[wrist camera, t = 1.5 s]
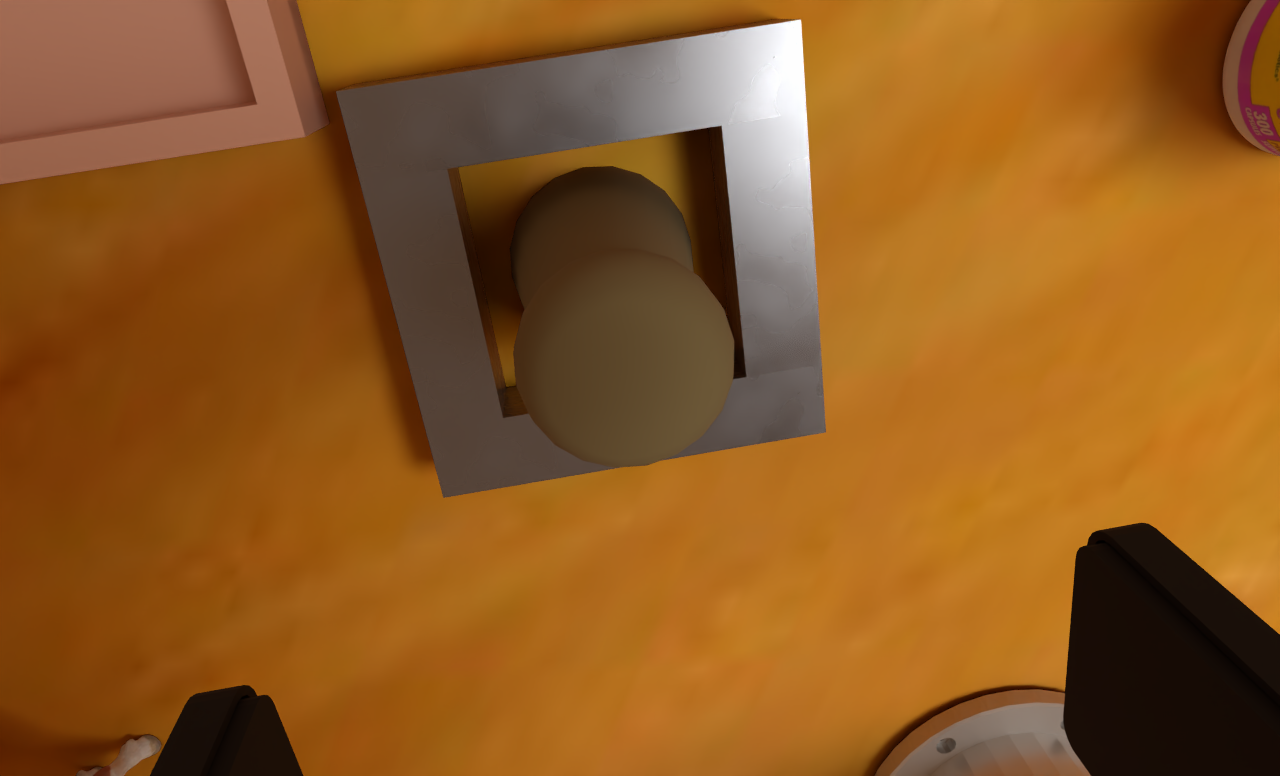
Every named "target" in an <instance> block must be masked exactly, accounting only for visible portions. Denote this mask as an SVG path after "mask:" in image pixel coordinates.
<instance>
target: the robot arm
mask: <svg viewBox="0 0 1280 776" xmlns="http://www.w3.org/2000/svg"><path fill="white" fill-rule="evenodd" d="M150 776H303V774H302V771H301V769H300V766H299V764H298V761H297V759H296V757H295V754H294V752H293V749H292V747H291V744H290V742H289V739H288V737H287V734H286V732H285V729H284V727H283V725H282V722H281V720H280V717H279V715H278V712H277V710H276V707H275V705H274V703H273V701H272V699H271V698H270V697H269V696H268V695H261V696H257V695H256V693H255V691H254V689H252V688H251V687H250V686H248V685H242V686H236V687H231V688H225V689H220V690H214V691H209V692H203V693H198V694H195V695H193V696H192V697H190V698H189V700H188V701H187V703H186V704H185V706H184V708H183V710H182V712H181V714H180V716H179V718H178V720H177V722H176V724H175V726H174V728H173V730H172V732H171V734H170V736H169V738H168V740H167V742H166V744H165V746H164V748H163V750H162V752H161V754H160V756H159V758H158V760H157V762H156V764H155V766H154V768H153V770H152V772H151V774H150ZM875 776H1280V635H1279V634H1278V633H1277V632H1276V631H1275V630H1274V629H1272V628H1271V627H1270V626H1269V625H1268V624H1267V623H1265V622H1264V621H1263V620H1262V619H1261V618H1260V617H1258V616H1257V615H1256V614H1255V613H1254V612H1253V611H1251V610H1250V609H1249V608H1248V607H1247V606H1246V605H1244V604H1243V603H1242V602H1241V601H1240V600H1239V599H1237V598H1236V597H1235V596H1234V595H1233V594H1232V593H1230V592H1229V591H1228V590H1227V589H1226V588H1225V587H1223V586H1222V585H1221V584H1220V583H1219V582H1218V581H1216V580H1215V579H1214V578H1213V577H1212V576H1211V575H1209V574H1208V573H1207V572H1206V571H1205V570H1204V569H1203V568H1201V567H1200V566H1199V565H1198V564H1197V563H1196V562H1194V561H1193V560H1192V559H1191V558H1190V557H1189V556H1187V555H1186V554H1185V553H1184V552H1183V551H1182V550H1180V549H1179V548H1178V547H1177V546H1176V545H1175V544H1173V543H1172V542H1171V541H1170V540H1169V539H1168V538H1166V537H1165V536H1164V535H1163V534H1162V533H1161V532H1159V531H1158V530H1157V529H1156V528H1154V527H1153V526H1151V525H1150V524H1146V523H1137V524H1132V525H1126V526H1121V527H1115V528H1110V529H1104V530H1099V531H1096V532H1093V533H1092V534H1091V536H1090V537H1089V539H1088V544H1087V546H1083V547H1081V548H1079V550H1078V551H1077V554H1076V561H1075V574H1074V586H1073V599H1072V612H1071V624H1070V637H1069V649H1068V662H1067V674H1066V687H1065V693H1062V692H1054V691H1047V690H1040V689H1036V690H1011V691H1005V692H1000V693H995V694H989V695H984V696H981V697H978V698H975V699H972V700H969V701H966V702H963V703H960V704H958V705H956V706H954V707H952V708H950V709H948V710H946V711H944V712H942V713H940V714H938V715H936V716H934V717H933V718H931V719H930V720H928V721H927V722H925V723H924V724H922V725H921V726H919V727H918V728H916V729H915V730H914V731H912V732H911V733H910V734H909V735H908V736H907V737H906V738H905V739H904V740H903V741H901V742H900V743H899V744H898V745H897V746H896V747H895V748H894V749H893V750H892V752H891V753H890V754H889V755H888V757H887V758H886V759H885V761H884V762H883V763H882V764H881V766H880V767H879V768H878V770H877V772H876V774H875Z"/></svg>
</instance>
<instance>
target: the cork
mask: <svg viewBox="0 0 1280 776" xmlns="http://www.w3.org/2000/svg"><path fill="white" fill-rule="evenodd" d="M510 256H511V269H512V278H513V280H514V283H515V286H516V288H517V291H518V294H519V296H520V299H521V302H522V304H523V307H524V312H523V314H522V318H521V322H520V326H519V330H518V333H517V337H516V341H515V345H514V353H513V354H514V366H515V378H516V386H517V389H518V391H519V393H520V395H521V398H522V400H523V402H524V404H525V406H526V409H527V411H528V413H529V415H530V417H531V419H532V420H533V422H534V423H535V424H536V425H537V426H538V427H539V428H540V429H541V431H542V432H543V433H544V434H545V435H546V436H547V437H548V438H549V439H550V440H551V441H552V442H553V443H554V444H555V445H556V446H557V447H559V448H561V449H563V450H565V451H566V452H568V453H570V454H572V455H574V456H575V457H577V458H579V459H581V460H582V461H586V462H591V463H596V464H600V465H605V466H609V467H614V468H616V467H630V466H645V465H649V464H652V463H655V462H657V461H660V460H663V459H666V458H669V457H671V456H674V455H677V454H678V453H680V452H681V451H682V450H684V449H685V448H687V447H688V446H689V445H691V444H692V443H694V442H695V441H696V440H698V439H699V438H700V437H702V436H703V435H704V434H705V432H706V431H707V430H708V428H709V427H710V426H711V425H712V423H713V422H714V421H715V419H716V418H717V417H718V415H719V414H720V413H721V411H722V410H723V407H724V404H725V401H726V398H727V396H728V393H729V390H730V387H731V385H732V382H733V374H734V338H733V335H732V332H731V329H730V326H729V323H728V320H727V317H726V314H725V311H724V309H723V307H722V306H721V304H720V303H719V301H718V300H717V299H716V298H715V296H714V295H713V294H712V292H711V291H710V290H709V288H708V287H707V286H706V284H705V283H704V282H703V281H702V279H701V278H700V277H699V276H698V275H696V274H695V273H694V271H693V260H692V249H691V240H690V237H689V234H688V231H687V228H686V225H685V222H684V219H683V216H682V213H681V212H680V211H679V209H678V208H677V207H676V205H675V204H674V203H673V201H672V200H671V199H670V197H669V196H668V195H667V193H666V192H665V191H664V190H663V189H661V188H660V187H658V186H657V185H655V184H654V183H652V182H651V181H650V180H648V179H647V178H645V177H644V176H642V175H641V174H637V173H634V172H630V171H627V170H623V169H620V168H616V167H613V166H610V167H585V168H580V169H578V170H575V171H573V172H570V173H567V174H565V175H562V176H559V177H557V178H555V179H553V180H552V181H551V182H550V183H548V184H547V185H546V186H545V187H543V188H542V189H541V190H540V191H539V192H537V193H536V194H535V195H534V196H532V198H531V199H530V201H529V203H528V204H527V206H526V207H525V209H524V210H523V212H522V213H521V215H520V217H519V218H518V220H517V222H516V226H515V230H514V234H513V238H512V242H511V246H510Z"/></svg>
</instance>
